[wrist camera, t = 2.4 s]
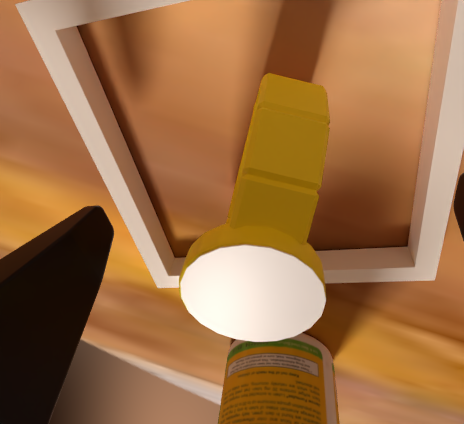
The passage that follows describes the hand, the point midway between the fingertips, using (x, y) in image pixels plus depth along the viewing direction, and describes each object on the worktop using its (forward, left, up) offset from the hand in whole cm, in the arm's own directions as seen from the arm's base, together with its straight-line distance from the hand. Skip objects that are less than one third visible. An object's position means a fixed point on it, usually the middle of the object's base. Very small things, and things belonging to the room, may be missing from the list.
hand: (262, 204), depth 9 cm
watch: (0, 0, -3) cm, 3 cm away
